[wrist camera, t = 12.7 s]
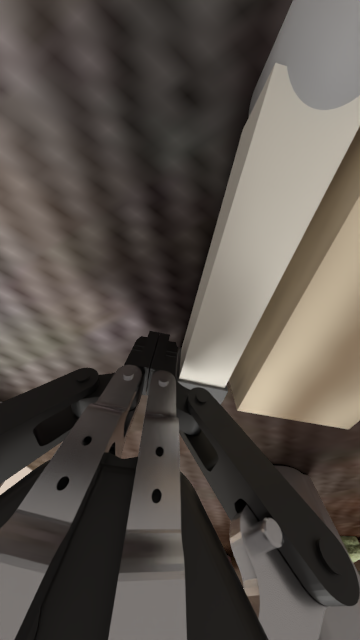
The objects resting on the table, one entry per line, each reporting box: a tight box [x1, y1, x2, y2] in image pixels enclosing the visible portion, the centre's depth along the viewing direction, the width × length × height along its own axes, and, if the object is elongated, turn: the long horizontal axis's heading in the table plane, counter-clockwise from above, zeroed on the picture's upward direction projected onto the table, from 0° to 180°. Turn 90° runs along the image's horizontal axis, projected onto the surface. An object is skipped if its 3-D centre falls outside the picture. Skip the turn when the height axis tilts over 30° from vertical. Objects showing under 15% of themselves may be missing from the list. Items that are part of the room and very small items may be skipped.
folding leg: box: [176, 0, 360, 405], centre depth 9 cm, size 18×4×4 cm, turn 168°
